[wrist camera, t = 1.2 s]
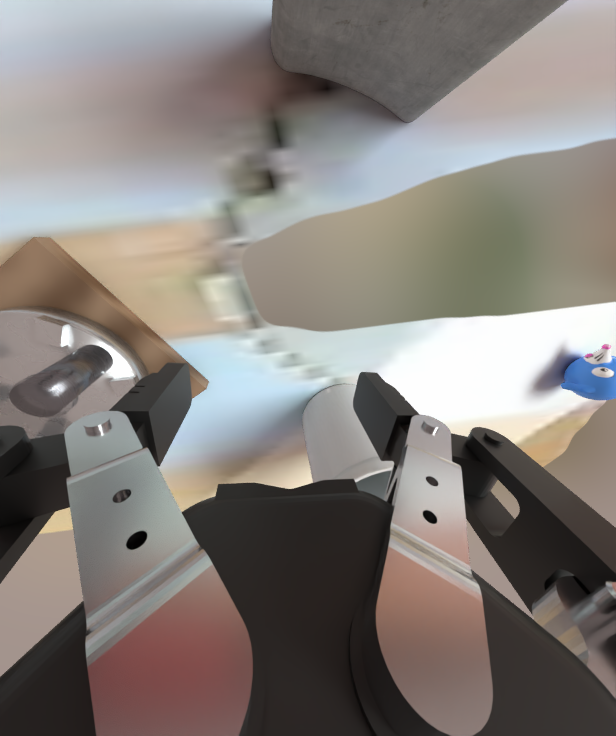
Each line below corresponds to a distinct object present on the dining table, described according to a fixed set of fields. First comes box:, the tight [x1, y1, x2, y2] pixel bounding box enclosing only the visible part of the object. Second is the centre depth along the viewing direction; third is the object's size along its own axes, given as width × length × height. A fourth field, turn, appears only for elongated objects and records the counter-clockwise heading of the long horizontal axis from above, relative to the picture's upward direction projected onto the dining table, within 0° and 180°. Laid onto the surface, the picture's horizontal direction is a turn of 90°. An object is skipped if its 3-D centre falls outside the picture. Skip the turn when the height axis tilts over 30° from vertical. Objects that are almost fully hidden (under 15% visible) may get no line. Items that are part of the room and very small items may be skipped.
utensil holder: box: [302, 384, 394, 500], centre depth 35 cm, size 15×15×18 cm
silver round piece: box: [0, 306, 149, 439], centre depth 24 cm, size 18×18×11 cm
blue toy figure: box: [561, 344, 616, 400], centre depth 44 cm, size 12×12×8 cm
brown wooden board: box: [0, 237, 209, 398], centre depth 30 cm, size 22×22×2 cm
